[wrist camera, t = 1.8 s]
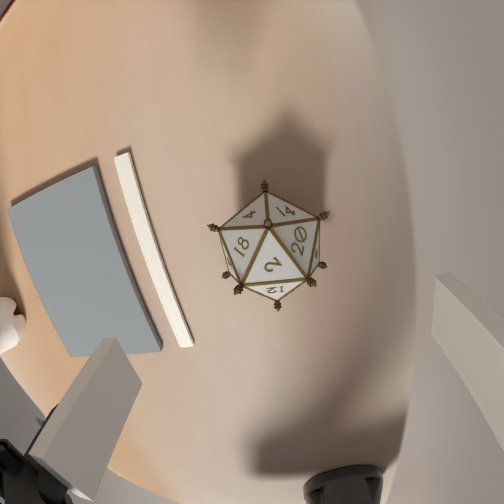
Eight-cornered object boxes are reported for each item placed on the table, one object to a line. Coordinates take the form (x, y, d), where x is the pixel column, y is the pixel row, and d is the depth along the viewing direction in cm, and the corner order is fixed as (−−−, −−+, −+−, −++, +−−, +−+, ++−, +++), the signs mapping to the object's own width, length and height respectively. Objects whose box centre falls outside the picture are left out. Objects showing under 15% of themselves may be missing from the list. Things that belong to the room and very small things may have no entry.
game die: (259, 204, 29) (246, 139, 19) (339, 246, 27) (364, 194, 17) (208, 283, 27) (166, 250, 17) (290, 333, 25) (293, 327, 15)
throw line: (194, 343, 30) (193, 346, 30) (181, 344, 30) (180, 347, 30) (130, 152, 24) (127, 152, 23) (116, 157, 24) (113, 157, 23)
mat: (163, 347, 31) (161, 351, 30) (73, 353, 32) (70, 356, 32) (96, 165, 24) (92, 166, 23) (11, 207, 26) (7, 209, 25)
